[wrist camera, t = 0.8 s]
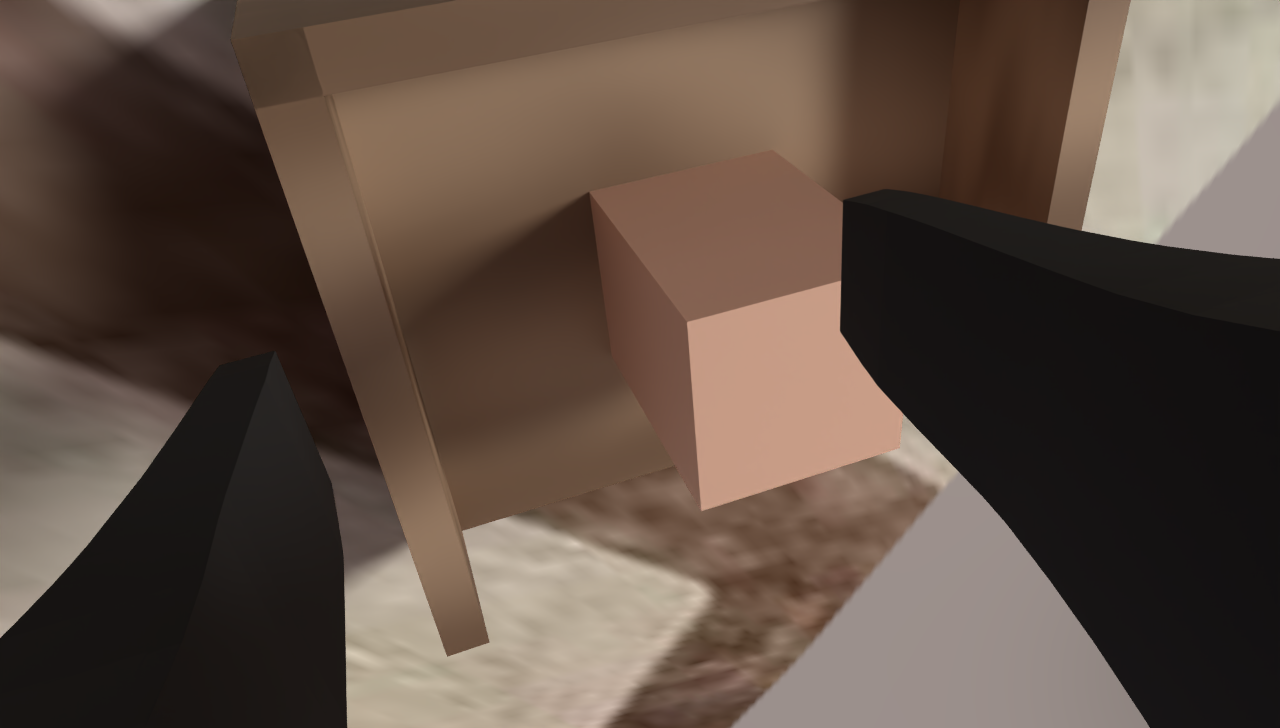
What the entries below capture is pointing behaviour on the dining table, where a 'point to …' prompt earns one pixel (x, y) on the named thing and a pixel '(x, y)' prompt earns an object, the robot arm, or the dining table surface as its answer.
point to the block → (737, 325)
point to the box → (599, 158)
